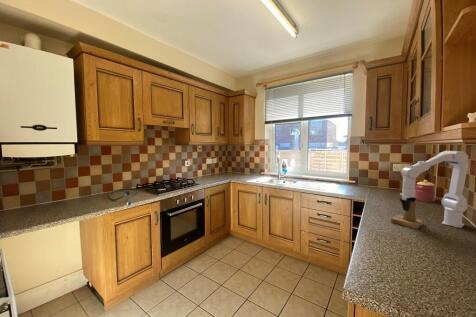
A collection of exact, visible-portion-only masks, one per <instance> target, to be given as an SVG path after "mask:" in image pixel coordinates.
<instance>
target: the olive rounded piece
mask: <svg viewBox="0 0 476 317" xmlns="http://www.w3.org/2000/svg"><path fill="white" fill-rule="evenodd" d="M416 207H417V204H416V203H415V202H411V204H410V206H409V210H408V211H404V213H403V219H404V220H406V221H410V222H416V219H417V218H416V217H417V216H416V209H415V208H416Z"/></svg>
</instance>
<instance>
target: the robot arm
mask: <svg viewBox="0 0 476 317" xmlns="http://www.w3.org/2000/svg"><path fill="white" fill-rule="evenodd" d="M468 160H469V155H468V154H467V153H466V152H465V151H462V150H459V151H458V150H456V151H455V150H444V151H442V152H438V154H436V155H435V156H433V157H430V158H429V159H428V160H426V161H425V160H421V161H420V160H419V161H417V163H414V164H413V165H410V166H409V167H404V168H402V170H401V171H400V175H401V176H402V191H401V193H399V195H400V196H401V197H399V201H400V202H401V205H402V209H403V211H404V212H405V211H408V210H409V206H410V204H411V202H414V203H415V202H416V201H417V200H416V198H414V197H415V189H416V187H415V185H416V178H418V177H419V176H420V174H422V173H424V172H426V171H428V170H430V167H432V166H434V165H437V164H440V163H442V162H446V163H448V164H450V165H451V166H452V167H453V169H452V174H451V179H450V184H449V188H448V192H447V193H445V194H444V196H443V197H442V199H441V205H442V206H443V209H444V214H443V215H444V216H443V221H442V222H441V224H442V225H446V226H451V227H453V228H454V227H455V228H460V229H462V228H463V227H464V225H465V223H463V214H464V213H465V211H466V210H467V209H468V199H467V197H465V196H464V195H463V193H464V188H465V183H466V178H467V172H468V168H469V163H468Z"/></svg>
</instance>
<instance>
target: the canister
mask: <svg viewBox="0 0 476 317" xmlns="http://www.w3.org/2000/svg"><path fill="white" fill-rule="evenodd" d="M436 189H437V187H436V186H435V184H434V183H432V182H429V181H428V180H427V179H424V180H423V181H419V182H416V184H415V197H414V198H416V200H415V201H418V202H424V203H435V201H436Z"/></svg>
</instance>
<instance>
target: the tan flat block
mask: <svg viewBox="0 0 476 317" xmlns="http://www.w3.org/2000/svg"><path fill="white" fill-rule="evenodd" d="M403 216H404V214H397V215H395V216H393V217H391V218H390V223H393V224H396V225H399V226H403V227H407V228H411V229H414V230H418V229H419V228H421V226H423V224H424V220H423V219H419V218H416V222H410V221H406V220H404V219H403Z"/></svg>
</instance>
